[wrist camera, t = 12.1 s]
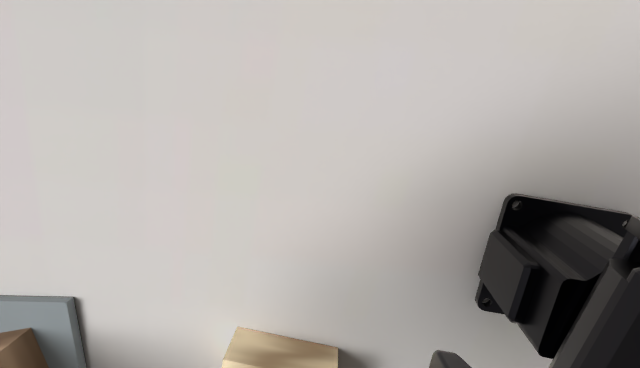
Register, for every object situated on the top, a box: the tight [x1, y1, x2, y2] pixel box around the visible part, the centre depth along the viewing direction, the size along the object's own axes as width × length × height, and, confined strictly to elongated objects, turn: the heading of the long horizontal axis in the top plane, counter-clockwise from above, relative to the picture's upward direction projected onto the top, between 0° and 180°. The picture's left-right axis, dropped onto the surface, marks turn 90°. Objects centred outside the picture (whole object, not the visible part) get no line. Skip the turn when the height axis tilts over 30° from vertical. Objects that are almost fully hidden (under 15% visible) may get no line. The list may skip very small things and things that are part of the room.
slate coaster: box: [0, 296, 86, 368], centre depth 24 cm, size 8×8×1 cm
